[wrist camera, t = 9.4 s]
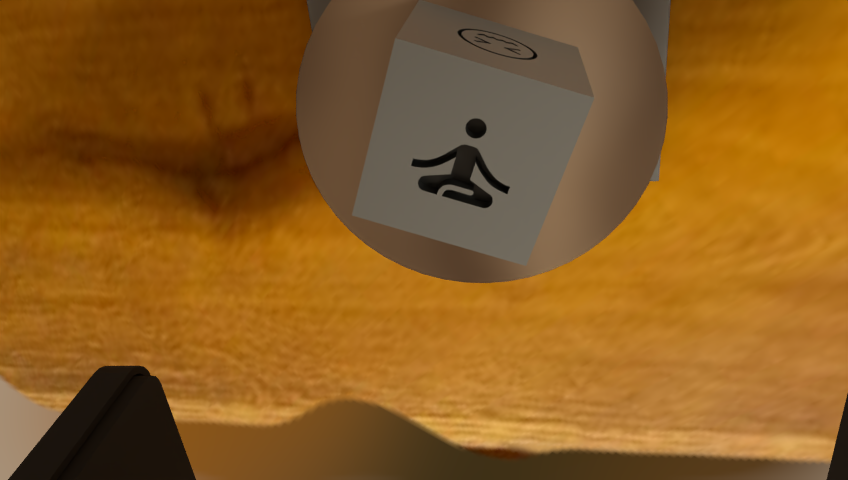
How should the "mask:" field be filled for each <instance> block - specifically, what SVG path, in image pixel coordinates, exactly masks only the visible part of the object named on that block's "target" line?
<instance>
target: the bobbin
mask: <svg viewBox="0 0 848 480" xmlns="http://www.w3.org/2000/svg"><path fill="white" fill-rule="evenodd" d="M418 1H419V0H307V5H308V11H309V17H310V22H311V28H312V34H311V37H310V39H309V41H308V43H307V46H306V49H305V52H304V56H303V59H302V63H301V66H300V70H299V77H298V84H297V91H296V117H297V125H298V133H299V139H300V143H301V147H302V151H303V154H304V158H305V161H306V163H307V166H308V168H309V171H310V173H311V176H312V178H313V180H314V182H315V184H316V186H317V188H318V189H319V191H320V193H321V195H322V196H323V198H324V200H325V201H326V202H327V204H328V205H329V206H330V208H331V209H332V211H333V212H334V213H335V215H336V216H337V217H338V218H339V219H340V220H341V221H342V222H343V223H344V225H345V226H346V227H347V228H348V229H349V230H350V231H351V232H352V233H353V234H355V235H356V236H357V237H358V238H359V239H360V240H362V241H363V242H364V243H365V244H366V245H368V246H369V247H371V248H372V249H374V250H375V251H377V252H378V253H380V254H381V255H383V256H384V257H386V258H388V259H390V260H392V261H394V262H396V263H398V264H400V265H402V266H404V267H406V268H409V269H411V270H414V271H417V272H419V273H422V274H425V275H429V276H433V277H437V278H441V279H445V280H452V281H459V282H471V283H492V282H505V281H512V280H517V279H522V278H527V277H531V276H534V275H538V274H541V273H544V272H547V271H550V270H552V269H555V268H557V267H559V266H561V265H564V264H566V263H568V262H570V261H572V260H574V259H575V258H577V257H579V256H580V255H582V254H584V253H585V252H587V251H589V250H590V249H591V248H593V247H594V246H595V245H597V244H598V243H599V242H601V241H602V240H603V239H605V238H606V237H607V236H608V235H609V234H610V233H611V232H612V231H613V230H614V229H615V228H616V227H617V226H618V225H619V224H620V223H621V222H622V221H623V220H624V219H625V218H626V216H627V215H628V214H629V212H630V211H631V210H632V209H633V207H634V206H635V205H636V204H637V202H638V200H639V199H640V197H641V195H642V194H643V192H644V190H645V189H646V187H647V185H648V184H649V181H659V168H660V153H661V149H662V146H663V142H664V138H665V130H666V123H667V86H666V79H665V78H666V63H667V48H668V33H669V18H670V3H671V0H423V1H426V2H430V3H433V4H436V5H439V6H443V7H446V8H449V9H453V10H456V11H459V12H463V13H466V14H469V15H473V16H476V17H479V18H482V19H486V20H489V21H492V22H496V23H499V24H502V25H506V26H509V27H512V28H516V29H519V30H522V31H525V32H529V33H532V34H535V35H539V36H542V37H545V38H549V39H552V40H555V41H559V42H562V43H565V44H568V45H572V46H575V47H578V50H579V53H580V56H581V59H582V62H583V65H584V68H585V71H586V74H587V77H588V80H589V83H590V86H591V89H592V92H593V95H594V100H593V103H592V105H591V108H590V110H589V113H588V115H587V118H586V120H585V122H584V125H583V127H582V130H581V132H580V135H579V137H578V140H577V142H576V145H575V147H574V149H573V152H572V154H571V157H570V159H569V162H568V164H567V167H566V169H565V172H564V174H563V176H562V179H561V181H560V184H559V186H558V189H557V191H556V194H555V196H554V199H553V201H552V203H551V206H550V208H549V211H548V213H547V216H546V218H545V221H544V223H543V226H542V228H541V230H540V233H539V235H538V238H537V240H536V243H535V245H534V248H533V250H532V252H531V255H530V257H529V260H528V262H527V265H526V266H524V265H521V264H517V263H514V262H511V261H507V260H504V259H500V258H497V257H493V256H490V255H486V254H483V253H480V252H476V251H473V250H469V249H466V248H462V247H459V246H455V245H452V244H449V243H445V242H442V241H438V240H435V239H431V238H428V237H424V236H421V235H418V234H414V233H411V232H407V231H404V230H400V229H397V228H394V227H390V226H387V225H383V224H380V223H376V222H373V221H369V220H366V219H363V218H359V217H356V216H352V213H353V209H354V205H355V201H356V197H357V193H358V188H359V184H360V180H361V176H362V172H363V168H364V164H365V160H366V156H367V152H368V148H369V143H370V139H371V135H372V131H373V127H374V123H375V119H376V115H377V111H378V107H379V102H380V98H381V94H382V90H383V86H384V82H385V78H386V74H387V70H388V66H389V62H390V57H391V53H392V49H393V45H394V41H395V38H396V36H397V34H398V33H399V31H400V30H401V28H402V26H403V25H404V23H405V22H406V20H407V19H408V17H409V15H410V14H411V12H412V11H413V9H414V7H415V6H416V4H417V3H418Z"/></svg>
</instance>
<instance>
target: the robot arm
mask: <svg viewBox="0 0 848 480" xmlns="http://www.w3.org/2000/svg"><path fill="white" fill-rule="evenodd" d="M8 480H196V479H195V476H194V473H193V470H192V468H191V465H190V462H189V459H188V457H187V454H186V451H185V448H184V446H183V443H182V440H181V437H180V435H179V432H178V429H177V426H176V424H175V421H174V418H173V415H172V413H171V410H170V407H169V404H168V402H167V399H166V396H165V393H164V391H163V388H162V385H161V383H160V381H159V379H158V378H157V377H156V376H151V375H150V373H149V371H148V370H147V369H146V368H145V367H142V366H104V367H101V368H99V369H98V370H97V371H96V372H95V373H94V374H93V375H92V377H91V378H90V379H89V380H88V382H87V383H86V384H85V385H84V386H83V388H82V389H81V390H80V391H79V393H78V394H77V395H76V396H75V398H74V399H73V400H72V401H71V403H70V404H69V405H68V406H67V407H66V409H65V410H64V411H63V412H62V414H61V415H60V416H59V417H58V419H57V420H56V421H55V422H54V424H53V425H52V426H51V427H50V429H49V430H48V431H47V432H46V434H45V435H44V436H43V437H42V438H41V440H40V441H39V442H38V443H37V445H36V446H35V447H34V448H33V450H32V451H31V452H30V453H29V454H28V456H27V457H26V458H25V459H24V461H23V462H22V463H21V464H20V466H19V467H18V468H17V469H16V471H15V472H14V473H13V474H12V476H11V477H10V478H9V479H8ZM827 480H848V394H847V398H846V403H845V407H844V411H843V415H842V419H841V423H840V427H839V431H838V435H837V440H836V444H835V448H834V452H833V456H832V460H831V464H830V468H829V473H828V477H827Z"/></svg>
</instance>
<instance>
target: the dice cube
mask: <svg viewBox="0 0 848 480" xmlns="http://www.w3.org/2000/svg"><path fill="white" fill-rule="evenodd" d="M593 100H594V95H593V92H592V89H591V86H590V83H589V80H588V77H587V74H586V71H585V68H584V65H583V62H582V59H581V56H580V53H579V50H578V47H575V46H572V45H568V44H565V43H562V42H559V41H555V40H552V39H549V38H545V37H542V36H539V35H535V34H532V33H529V32H525V31H522V30H519V29H516V28H512V27H509V26H506V25H502V24H499V23H496V22H492V21H489V20H486V19H482V18H479V17H476V16H473V15H469V14H466V13H463V12H459V11H456V10H453V9H449V8H446V7H443V6H439V5H436V4H433V3H430V2H426V1H423V0H419V1H418V3H417V4H416V6H415V7H414V9H413V11H412V12H411V14H410V15H409V17H408V19H407V20H406V22H405V23H404V25H403V26H402V28H401V30H400V31H399V33H398V34H397V36H396V38H395V41H394V45H393V49H392V53H391V57H390V62H389V66H388V70H387V74H386V78H385V82H384V86H383V90H382V94H381V98H380V102H379V107H378V111H377V115H376V119H375V123H374V127H373V131H372V135H371V139H370V143H369V148H368V152H367V156H366V160H365V164H364V168H363V172H362V176H361V180H360V184H359V188H358V193H357V197H356V201H355V205H354V209H353V213H352V216H356V217H359V218H363V219H366V220H369V221H373V222H376V223H380V224H383V225H387V226H390V227H394V228H397V229H400V230H404V231H407V232H411V233H414V234H418V235H421V236H424V237H428V238H431V239H435V240H438V241H442V242H445V243H449V244H452V245H455V246H459V247H462V248H466V249H469V250H473V251H476V252H480V253H483V254H486V255H490V256H493V257H497V258H500V259H504V260H507V261H511V262H514V263H517V264H521V265H524V266H526V265H527V262H528V260H529V257H530V255H531V252H532V250H533V248H534V245H535V243H536V240H537V238H538V235H539V233H540V230H541V228H542V226H543V223H544V221H545V218H546V216H547V213H548V211H549V208H550V206H551V203H552V201H553V199H554V196H555V194H556V191H557V189H558V186H559V184H560V181H561V179H562V176H563V174H564V172H565V169H566V167H567V164H568V162H569V159H570V157H571V154H572V152H573V149H574V147H575V145H576V142H577V140H578V137H579V135H580V132H581V130H582V127H583V125H584V122H585V120H586V118H587V115H588V113H589V110H590V108H591V105H592V103H593Z"/></svg>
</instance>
